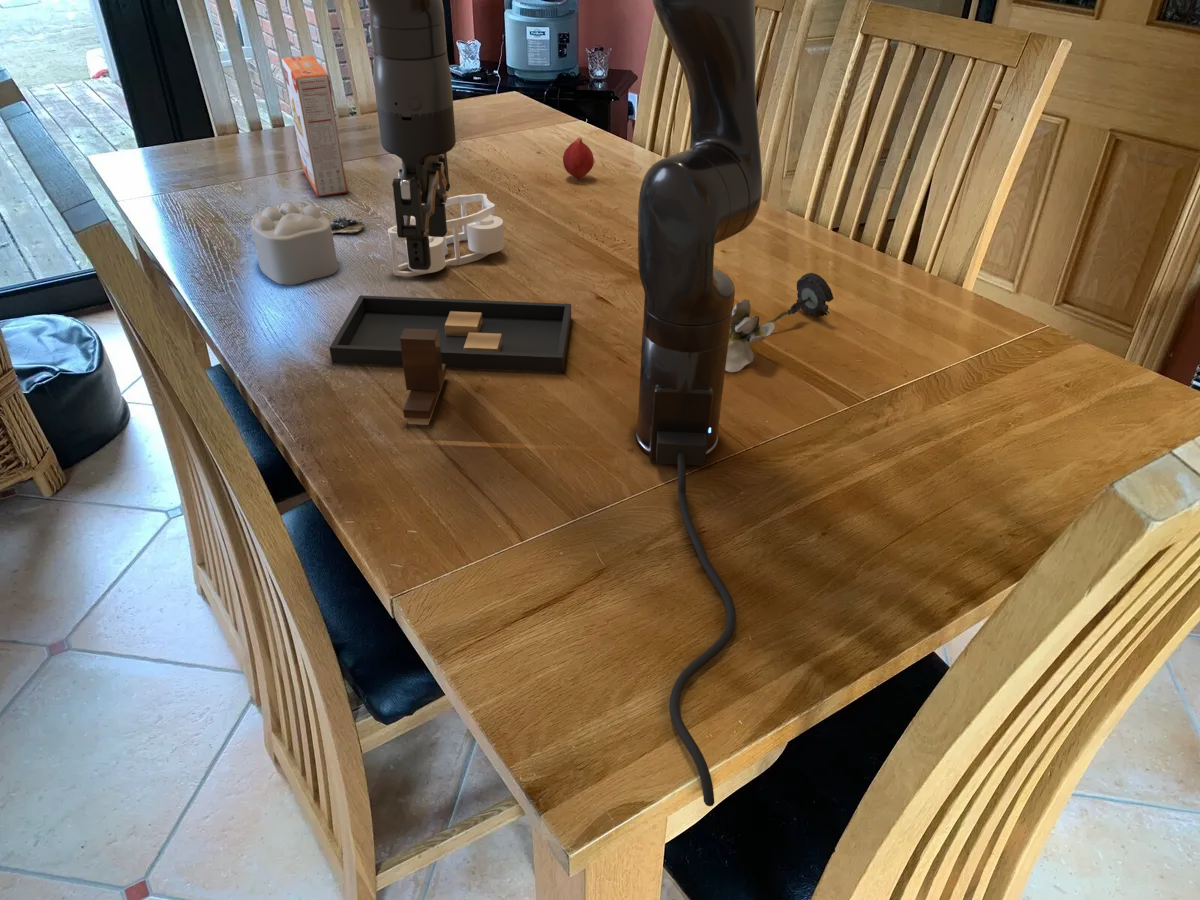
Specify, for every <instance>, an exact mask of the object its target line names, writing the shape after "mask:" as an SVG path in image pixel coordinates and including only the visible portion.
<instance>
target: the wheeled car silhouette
mask: <svg viewBox="0 0 1200 900" xmlns="http://www.w3.org/2000/svg"><path fill="white" fill-rule="evenodd" d="M477 202H481V210H479V211H477V212H475V213H472V214H469V215H468V214H467V204H469V203H471V204H472V203H477ZM443 204H445V208H446V207H450V206H454V205H460V212H461V213H460V214H461V216H460V217H458V218H457V217H456V218H453V219H448V220H447V219H446V224H447V230H449V229H452V234H451V235H447V234H446V235H445V236H444V237H431V236H429V235H428V236H429V247H430V258H431V266H430V268H429V269H428V270H416V269H411V268H410V266H409V259H408V250H407V241H406V238H399V237H398V234H397V224H396V225H394V226H391V227H390V228H388V229H387V234H388V239H389V244H390V245H389V246H390V253H391V262H392V268H393V269H392V272H393V275H394V276H396V277H397V276H398V277H415V276H421V275H426V274H431V273H436V272H439V271H441V270H443V269H444V268H445V267H446V266H461V265H466V264H470V263H473V262H475V261H479V260H481V259H484V258H485V257H487V256H488V255H490V254H494V253H498V252H501V251H502V250H503V249H504V247H505V235H504V233H505V232H504V220H503V219H502V218H501V217H499V216H497V215H493V214H495V213H496V205H495V203H493V202H492V201H490V200H489V199H488V195H487V194H486V193H473V194H459V195H454V196H449V197H447V200H446V203H443ZM410 225H416V220H415V217H414V216H411V219H410ZM459 227H461V228H462V232H459ZM396 241H399V242H400V241H401V242H404V243H405V245H404V246H405V252H406V253H405V254H406V260H407V261H406V262H404V263H401V264H399V260H398V259H399V258H398V251H397V244H396V243H397V242H396ZM461 241H467V248H468V250H470V251H471V252H473V253H469V254H466V255H465V254H464V255H462V256H461V247H460V242H461ZM449 244H453V249H454V258H449V259H446V256H447V255H448V254H449V249H448V246H447V245H449ZM404 269H408V270H410V271H404Z"/></svg>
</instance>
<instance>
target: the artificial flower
mask: <svg viewBox="0 0 1200 900" xmlns="http://www.w3.org/2000/svg"><path fill="white" fill-rule="evenodd" d="M796 291H797V294H796V296H797V299H796V302H795V303H793V304H792V305H791V307H790V308H789V309H788V310H787V311H783V312H782V313H780V314H778V315H777V316H776V317H774V318H773V319H772V320H769V321H767V322H765V323H763V324H760V317H759V315H754V316H751V309H752V308H751V307H752V306H751V303H750V299H747V298H746V299H745V298H744V299H742V300H741V301H740V302H737V303H735V305H734V306H733V311H732V319H731V327H730V336H729V343H728V351H727V359H726V368H725V372H728V373H731V374H732V373H737V372H740V371H741V370H742V369H744V368H745V366H747V365H749V364H751V363H752V362H753V361H754V359H755V354H754V351H753V350H752V348H751V346H750V344H752V343H754V344H755V343H761V342H762V341H764V340H765V339H766V338H767V337H769V336H771V335H772V333H773V331H774V330H775V328H776V323H774V322H776V321H778V320H780V319H782V318H783V317H784V316H787V315H795V314H796V313H797V312H798V311H800V310H801V311H802V312H804V313H808V314H810V315H812V316H814V317H816V318H820V317H824V316H828V315H830V314H831V313H830V311H829V305H828V304H827V303H830V302H832V301H833V300H834V298H835V297H834V295H833V292H832V289H831V287H830V286H829V284H828V282H827V281H826V280H825V278H823V277H822V276H821V275H820V274H817V273H814V272H806V273H805V274H803V275H801V277H800V278H799V279H798V280H797V281H796ZM749 343H750V344H749Z"/></svg>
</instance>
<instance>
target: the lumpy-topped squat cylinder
mask: <svg viewBox="0 0 1200 900" xmlns="http://www.w3.org/2000/svg"><path fill="white" fill-rule="evenodd" d="M250 228H251V233H252V237H253V241H254V246H255V251H256V255H257V260H258V264H259V269H260V271H261V272H262V273H263V274H264V275H265V276H266V277H268V278H269V279H270V280H272V281H273V282H275V283H276V284H280V285H287V286H294V285H300V284H303V283H305V282H308V281H311V280H314V279H318V278H324V277H328V276H331V275H334V274H335V273H336V272H337V271H338V269H339V265H338V259H337V254H336V247H335V241H334V234H333V233H332V229H331V221H330V220H329V219H328V217H326V216H325V215H324V214H322V213H321V210H320V209H319V208H318V207H316V205H312V204H309V205H306V206H304V207H303V206H297V205H295V204H294V203H292V202H283V203H281V204H278V205H276V206H266V207H265V208H264V209H263V210H261V211H259V212H258V213H256V214H255V215H254V216H253V217H252V220H251V222H250Z"/></svg>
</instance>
